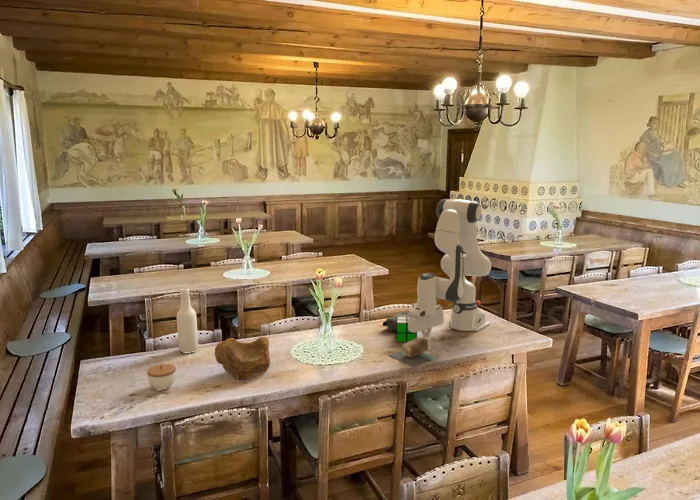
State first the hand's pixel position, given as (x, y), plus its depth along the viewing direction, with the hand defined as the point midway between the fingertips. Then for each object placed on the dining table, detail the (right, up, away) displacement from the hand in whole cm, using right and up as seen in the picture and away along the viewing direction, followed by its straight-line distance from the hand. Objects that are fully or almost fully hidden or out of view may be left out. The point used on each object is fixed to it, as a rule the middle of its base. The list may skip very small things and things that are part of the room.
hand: (426, 337), depth 244 cm
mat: (-9, -9, -6) cm, 14 cm away
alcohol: (-111, -7, +5) cm, 112 cm away
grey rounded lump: (-10, -1, +33) cm, 34 cm away
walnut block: (-1, -3, -1) cm, 3 cm away
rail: (-4, -8, -2) cm, 9 cm away
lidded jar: (-110, -15, -33) cm, 116 cm away
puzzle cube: (-7, -4, +18) cm, 20 cm away
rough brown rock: (-80, -12, -22) cm, 83 cm away
